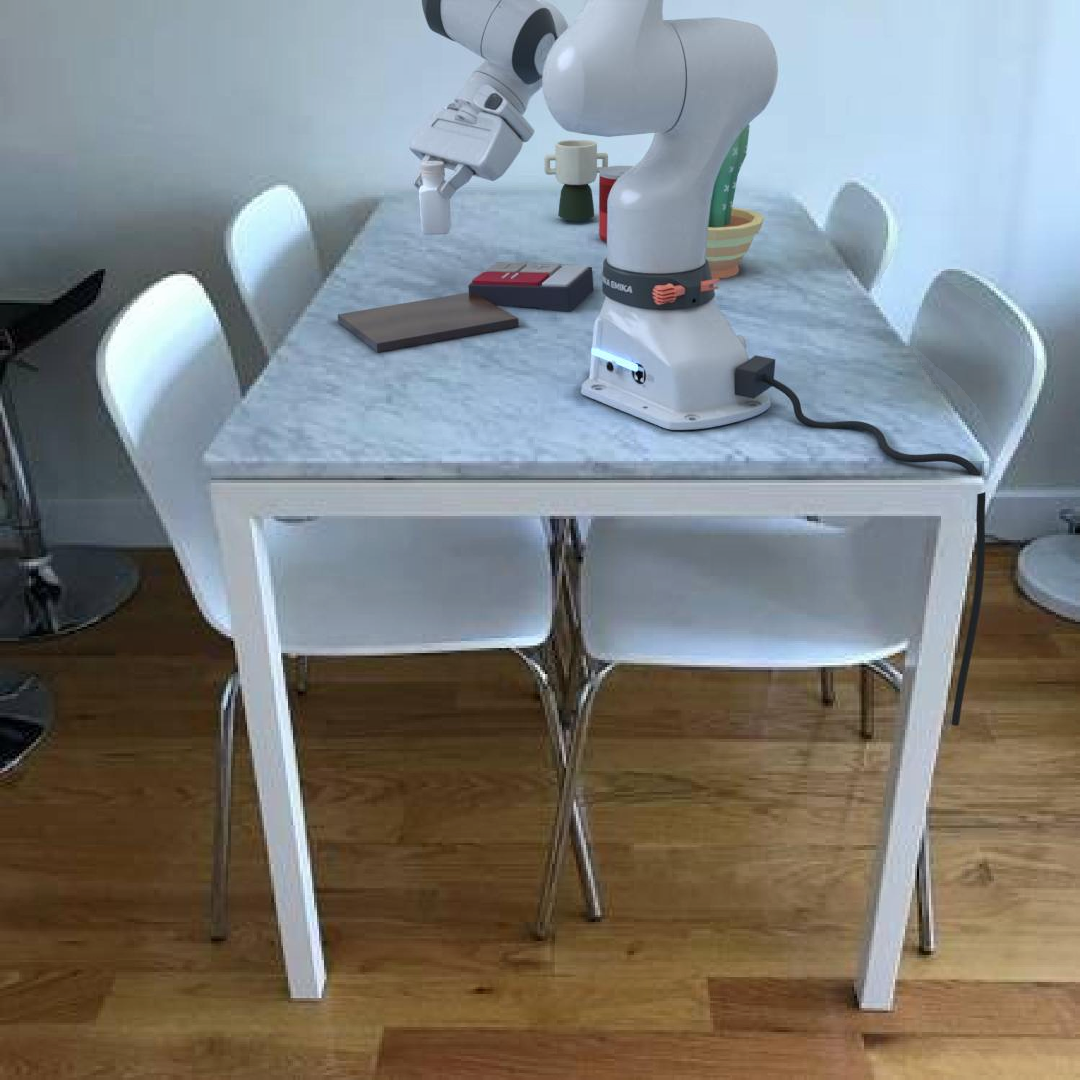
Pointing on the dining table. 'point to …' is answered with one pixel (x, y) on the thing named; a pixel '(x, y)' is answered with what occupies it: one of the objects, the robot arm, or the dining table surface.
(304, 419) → the dining table surface
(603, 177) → the canned food
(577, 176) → the trophy
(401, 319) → the board
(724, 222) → the potted cactus
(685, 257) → the robot arm
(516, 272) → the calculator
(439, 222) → the pepper shaker
